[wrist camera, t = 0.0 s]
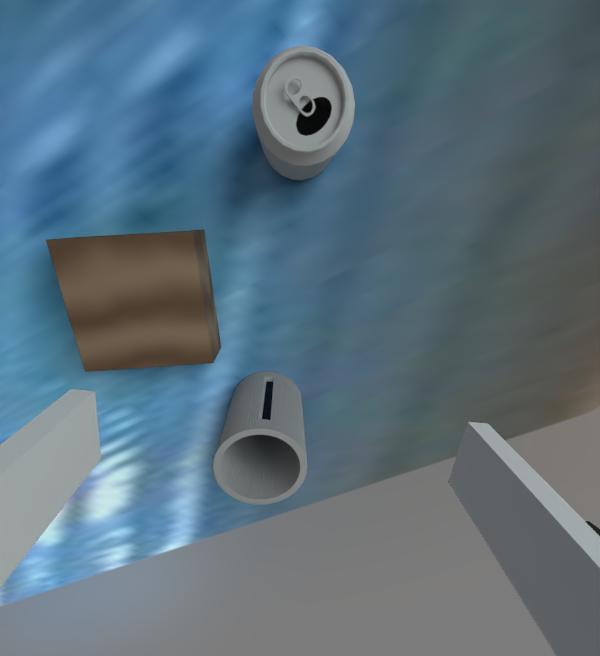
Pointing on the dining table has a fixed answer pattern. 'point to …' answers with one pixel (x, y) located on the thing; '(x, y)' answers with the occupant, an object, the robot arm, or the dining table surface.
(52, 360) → the dining table surface
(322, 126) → the can
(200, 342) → the walnut block
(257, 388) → the cup
